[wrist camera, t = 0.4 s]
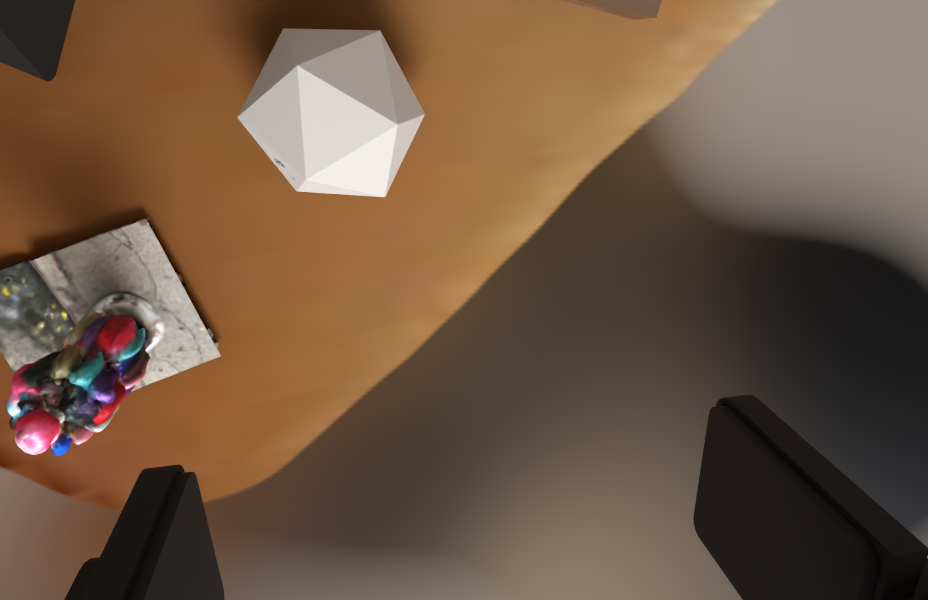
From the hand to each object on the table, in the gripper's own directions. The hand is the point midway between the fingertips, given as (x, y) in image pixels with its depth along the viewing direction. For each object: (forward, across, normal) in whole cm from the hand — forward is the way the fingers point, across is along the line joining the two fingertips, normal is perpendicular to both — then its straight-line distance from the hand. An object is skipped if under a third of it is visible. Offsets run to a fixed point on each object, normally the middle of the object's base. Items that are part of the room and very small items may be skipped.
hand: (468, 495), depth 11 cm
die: (+29, +2, -4) cm, 30 cm away
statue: (+29, +18, +8) cm, 35 cm away
